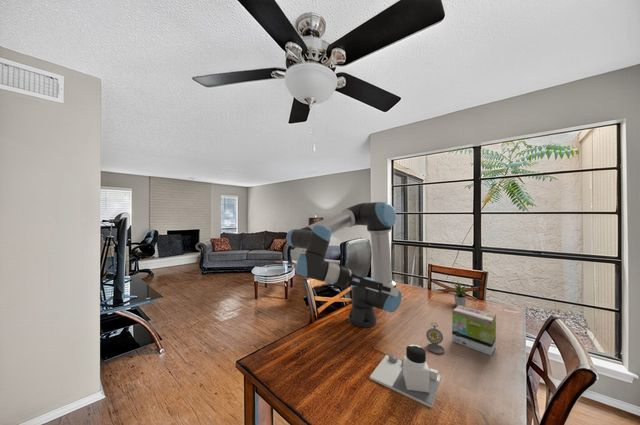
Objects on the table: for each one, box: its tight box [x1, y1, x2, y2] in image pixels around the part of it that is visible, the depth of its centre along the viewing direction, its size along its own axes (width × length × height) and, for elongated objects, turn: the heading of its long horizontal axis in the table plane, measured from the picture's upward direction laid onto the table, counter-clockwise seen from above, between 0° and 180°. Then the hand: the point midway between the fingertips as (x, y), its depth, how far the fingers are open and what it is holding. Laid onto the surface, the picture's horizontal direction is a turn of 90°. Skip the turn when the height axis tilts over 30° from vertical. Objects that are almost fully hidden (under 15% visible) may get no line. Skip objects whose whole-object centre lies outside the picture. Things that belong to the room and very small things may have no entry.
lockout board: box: [369, 354, 442, 409], centre depth 81 cm, size 20×16×3 cm
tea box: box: [451, 305, 497, 357], centre depth 103 cm, size 15×10×15 cm
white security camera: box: [402, 344, 430, 393], centre depth 77 cm, size 7×7×12 cm
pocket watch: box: [425, 322, 445, 355], centre depth 99 cm, size 8×8×10 cm
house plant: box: [448, 279, 473, 307], centre depth 149 cm, size 14×14×16 cm
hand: (389, 291), depth 87 cm, fingers open, 13 cm apart
